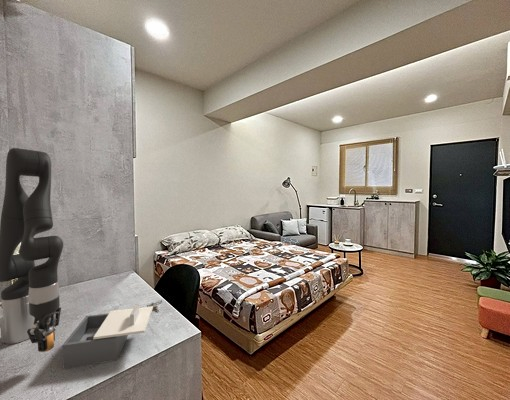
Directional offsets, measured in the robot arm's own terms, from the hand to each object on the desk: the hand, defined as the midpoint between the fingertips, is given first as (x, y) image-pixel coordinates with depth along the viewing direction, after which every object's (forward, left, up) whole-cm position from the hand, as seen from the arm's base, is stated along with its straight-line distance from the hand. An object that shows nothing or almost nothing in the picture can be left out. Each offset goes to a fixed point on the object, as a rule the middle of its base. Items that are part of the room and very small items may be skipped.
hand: (46, 346), depth 80 cm
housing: (+14, +6, -7) cm, 17 cm away
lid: (+23, +6, +2) cm, 24 cm away
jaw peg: (0, 0, -1) cm, 1 cm away
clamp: (+27, +28, -7) cm, 40 cm away
